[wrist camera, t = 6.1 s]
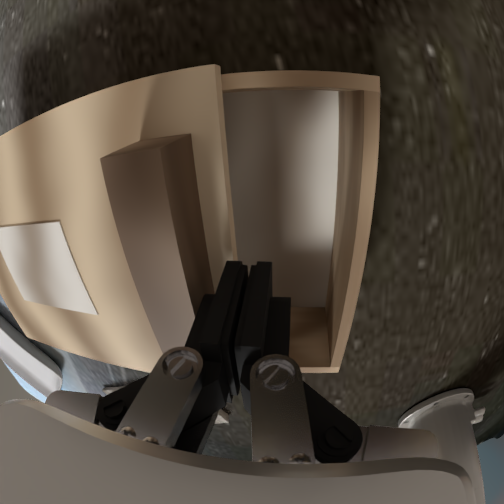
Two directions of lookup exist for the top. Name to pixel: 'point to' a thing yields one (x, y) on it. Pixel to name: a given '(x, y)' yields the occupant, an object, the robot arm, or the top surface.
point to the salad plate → (28, 360)
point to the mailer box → (305, 194)
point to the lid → (118, 217)
